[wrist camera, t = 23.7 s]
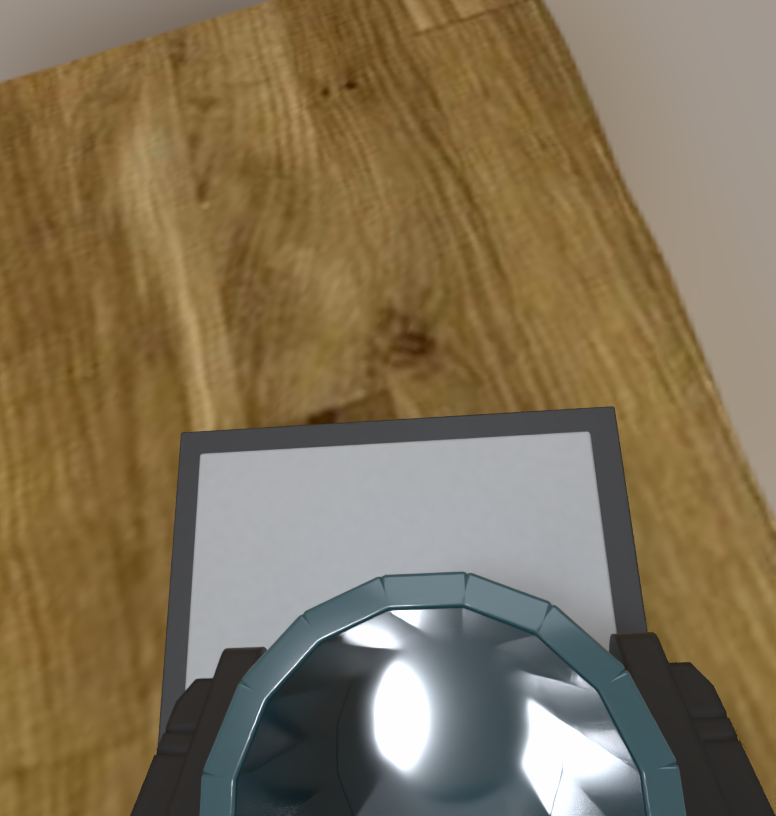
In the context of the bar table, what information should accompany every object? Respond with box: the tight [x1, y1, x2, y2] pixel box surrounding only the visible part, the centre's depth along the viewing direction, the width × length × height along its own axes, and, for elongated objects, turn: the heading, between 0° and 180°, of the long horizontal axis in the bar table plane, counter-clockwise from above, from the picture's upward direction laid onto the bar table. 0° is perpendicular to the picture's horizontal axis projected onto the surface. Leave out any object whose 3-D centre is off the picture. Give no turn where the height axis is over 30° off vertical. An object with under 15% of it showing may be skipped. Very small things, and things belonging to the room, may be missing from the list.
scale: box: [158, 406, 648, 745], centre depth 21 cm, size 14×14×3 cm
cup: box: [199, 571, 687, 816], centre depth 13 cm, size 6×6×8 cm
